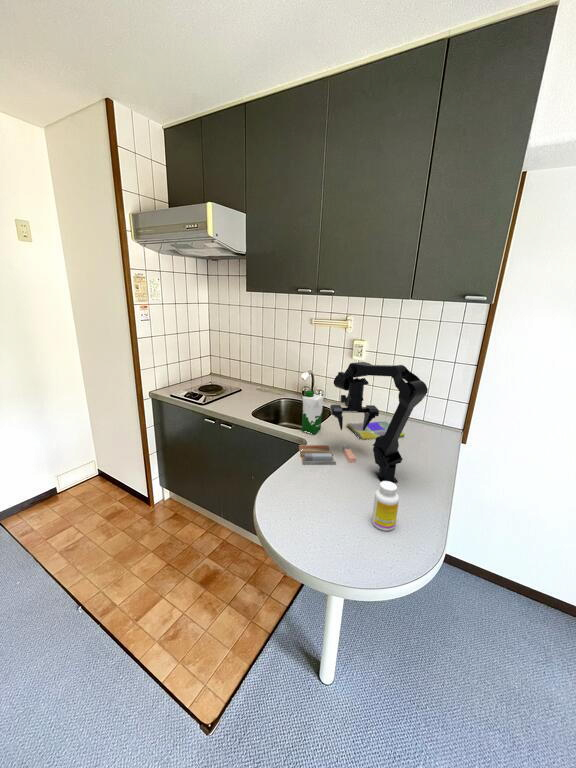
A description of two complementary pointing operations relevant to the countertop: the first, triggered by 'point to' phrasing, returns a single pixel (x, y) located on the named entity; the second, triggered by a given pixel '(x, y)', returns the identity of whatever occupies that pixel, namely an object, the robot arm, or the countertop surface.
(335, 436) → the countertop surface
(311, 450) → the cord caddy
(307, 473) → the countertop surface
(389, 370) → the robot arm
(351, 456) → the two-tone eraser
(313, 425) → the milk carton
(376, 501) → the supplement bottle
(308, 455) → the grey square bar
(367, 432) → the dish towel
